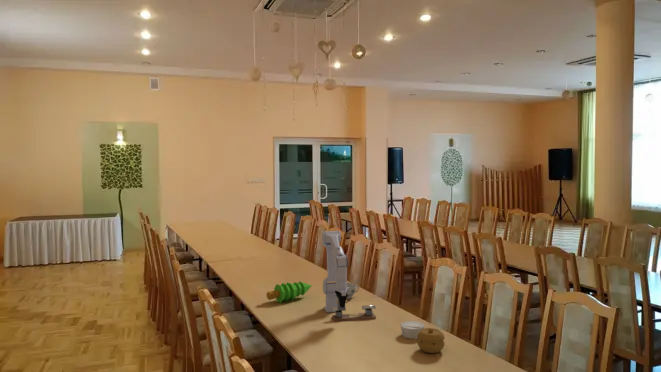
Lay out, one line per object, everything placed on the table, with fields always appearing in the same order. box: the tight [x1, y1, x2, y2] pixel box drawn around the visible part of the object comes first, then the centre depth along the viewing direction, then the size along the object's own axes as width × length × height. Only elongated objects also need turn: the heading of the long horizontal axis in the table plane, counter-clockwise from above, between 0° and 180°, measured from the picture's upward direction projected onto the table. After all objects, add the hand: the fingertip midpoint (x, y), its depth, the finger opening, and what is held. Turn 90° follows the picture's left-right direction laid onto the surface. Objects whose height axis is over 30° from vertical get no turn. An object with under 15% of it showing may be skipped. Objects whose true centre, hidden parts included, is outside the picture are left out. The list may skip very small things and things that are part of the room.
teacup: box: [346, 281, 360, 300], centre depth 292 cm, size 15×12×8 cm
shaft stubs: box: [332, 304, 376, 318], centre depth 255 cm, size 4×23×5 cm, turn 99°
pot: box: [416, 327, 446, 354], centre depth 210 cm, size 12×12×10 cm
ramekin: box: [400, 320, 425, 340], centre depth 229 cm, size 11×11×5 cm
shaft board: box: [331, 311, 377, 322], centre depth 255 cm, size 7×22×1 cm, turn 99°
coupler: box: [336, 297, 348, 310], centre depth 246 cm, size 4×6×6 cm, turn 99°
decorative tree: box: [265, 281, 313, 304], centre depth 289 cm, size 11×12×30 cm
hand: (341, 306), depth 246 cm, fingers closed on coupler, 4 cm apart
